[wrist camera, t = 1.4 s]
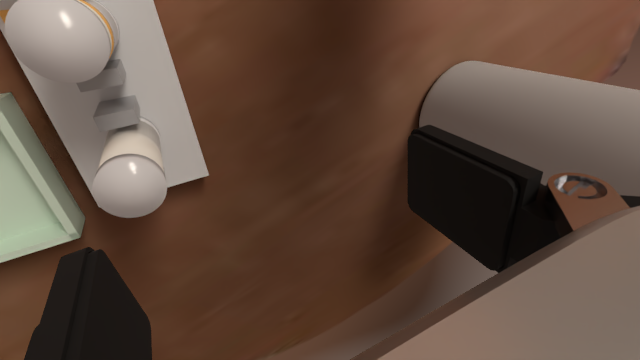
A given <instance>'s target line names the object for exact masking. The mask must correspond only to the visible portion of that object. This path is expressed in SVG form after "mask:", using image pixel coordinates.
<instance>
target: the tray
mask: <svg viewBox="0 0 640 360" xmlns="http://www.w3.org/2000/svg"><path fill="white" fill-rule="evenodd" d="M84 222H85V216H84V215H83V213H82V211H81V209H80V208H79V206H78V204H77V203H76V201H75V199H74V198H73V196H72V194H71V193H70V191H69V189H68V188H67V186H66V184H65V182H64V181H63V179H62V177H61V176H60V174H59V172H58V171H57V169H56V167H55V166H54V164H53V162H52V161H51V159H50V157H49V155H48V154H47V152H46V150H45V149H44V147H43V145H42V144H41V142H40V140H39V139H38V137H37V135H36V134H35V132H34V130H33V128H32V127H31V125H30V123H29V122H28V120H27V118H26V117H25V115H24V113H23V112H22V110H21V108H20V107H19V105H18V103H17V101H16V100H15V98H14V96H13V95H12V93H11V92H9V93H4V94H0V263H1V262H5V261H8V260H11V259H14V258H17V257H20V256H24V255H27V254H30V253H33V252H36V251H39V250H43V249H46V248H49V247H52V246H55V245H58V244H62V243H65V242H68V241H71V240H74V239H78V238H81V234H82V230H83V226H84Z"/></svg>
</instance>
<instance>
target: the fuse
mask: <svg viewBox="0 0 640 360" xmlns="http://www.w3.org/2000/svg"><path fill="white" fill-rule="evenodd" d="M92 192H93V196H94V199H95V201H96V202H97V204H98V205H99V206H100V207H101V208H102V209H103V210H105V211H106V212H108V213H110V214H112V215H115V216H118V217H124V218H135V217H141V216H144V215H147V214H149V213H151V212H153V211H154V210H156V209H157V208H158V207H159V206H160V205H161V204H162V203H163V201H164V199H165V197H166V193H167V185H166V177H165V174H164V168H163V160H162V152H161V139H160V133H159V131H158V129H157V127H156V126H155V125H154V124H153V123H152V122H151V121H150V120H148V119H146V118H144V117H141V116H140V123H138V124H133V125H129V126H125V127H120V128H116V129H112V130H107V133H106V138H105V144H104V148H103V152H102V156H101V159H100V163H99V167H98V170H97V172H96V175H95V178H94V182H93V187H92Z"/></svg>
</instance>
